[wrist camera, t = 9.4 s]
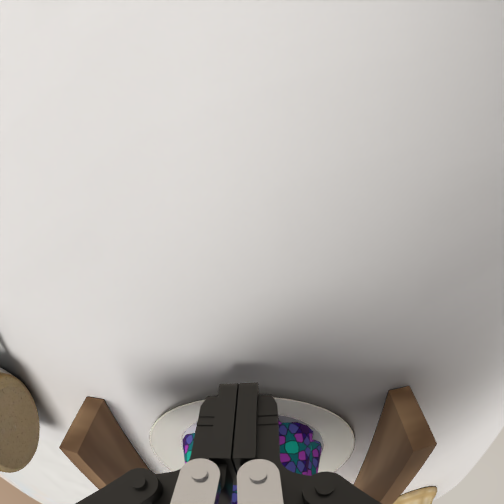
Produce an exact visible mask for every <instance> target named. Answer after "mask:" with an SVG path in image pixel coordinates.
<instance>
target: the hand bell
mask: <svg viewBox="0 0 504 504" xmlns="http://www.w3.org/2000/svg"><path fill="white" fill-rule="evenodd" d="M436 493H437V488H436V487H425V488H421V489H418V490H414V491H411V492H408V493H405V494H403V495H400V496H399V497H398V499H397V500H396V501H395V502H394V503H393V504H432V501H433V498H434V497H435V495H436Z"/></svg>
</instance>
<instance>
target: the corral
mask: <svg viewBox="0 0 504 504" xmlns="http://www.w3.org/2000/svg"><path fill="white" fill-rule="evenodd" d="M436 445H437V443H436V441H435V438H434V436H433V434H432V432H431V430H430V428H429V425H428V423H427V421H426V419H425V417H424V415H423V413H422V411H421V409H420V407H419V404H418V402H417V400H416V398H415V396H414V394H413V392H412V390H411V388H410V386H407V387H402V388H398V389H394V390H389V391H388V394H387V398H386V401H385V404H384V407H383V411H382V414H381V417H380V420H379V423H378V426H377V428H376V431H375V434H374V437H373V440H372V442H371V445H370V448H369V450H368V453H367V455H366V458H365V460H364V463H363V465H362V467H361V470H360V472H359V474H358V477H357V479H356V481H355V483H354V486H356V487H357V488H359V489H360V490H362V491H363V492H365V493H366V494H368V495H369V496H371V497H372V498H374V499H375V500H377V501H378V502H380V503H382V504H393V503H394V502H395V501H396V500H397V499H398V497H399V496H400V495H401V494H402V492H403V491H404V490H405V489H406V487H407V486H408V485H409V483H410V482H411V481H412V479H413V478H414V477H415V475H416V474H417V473H418V471H419V470H420V469H421V467H422V466H423V464H424V463H425V461H426V460H427V458H428V457H429V455H430V454H431V452H432V451H433V449H434V448H435V446H436ZM59 448H60V449H61V450H62V452H63V453H64V454H65V455H66V456H67V457H68V458H69V459H70V460H71V462H72V463H73V464H74V465H75V466H76V467H77V468H78V469H79V470H80V471H81V472H82V473H83V474H84V475H85V476H86V477H87V478H88V479H89V480H90V481H91V482H92V483H93V484H94V485H95V486H96V487H97V488H98V489H99V490H100V489H101V488H103V487H105V486H106V485H108V484H109V483H111V482H113V481H114V480H116V479H117V478H119V477H120V476H122V475H124V474H125V473H127V472H128V471H130V470H132V469H135V468H145V469H148V467H147V466H146V465H145V463H144V462H143V460H142V459H141V458H140V456H139V455H138V453H137V452H136V451H135V449H134V448H133V446H132V445H131V443H130V442H129V440H128V439H127V437H126V436H125V434H124V433H123V431H122V429H121V428H120V426H119V425H118V423H117V421H116V420H115V418H114V416H113V415H112V413H111V411H110V410H109V408H108V406H107V405H106V403H105V401H104V399H98V398H92V397H86V399H85V401H84V402H83V404H82V406H81V408H80V410H79V411H78V413H77V415H76V417H75V419H74V421H73V423H72V424H71V426H70V428H69V430H68V432H67V434H66V436H65V438H64V439H63V441H62V443H61V445H60V447H59ZM148 470H149V469H148Z"/></svg>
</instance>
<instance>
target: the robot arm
mask: <svg viewBox="0 0 504 504" xmlns="http://www.w3.org/2000/svg"><path fill="white" fill-rule="evenodd" d="M233 485H237V504H382V503H380V502H378V501H377V500H375V499H374V498H372V497H371V496H369V495H368V494H366V493H365V492H363V491H362V490H360V489H359V488H357V487H356V486H354V485H353V484H351V483H350V482H348V481H347V480H346V479H344V478H343V477H341V476H340V475H338V474H336V473H333V472H327V471H326V472H319V473H316V474H314V475H312V476H309V475H303V474H298V473H294V472H292V471H290V470H288V469H286V468H285V467H284V466H283V464H282V463H281V461H280V442H279V421H278V408H277V403H276V401H275V399H274V398H273V396H272V395H271V394H270V395H260V394H259V386H258V382H257V383H240V384H238V383H235V384H220V386H219V391H218V396H208V397H207V398H206V399H205V401H204V402H203V403H202V405H201V407H200V412H199V418H198V421H197V427H196V431H195V436H194V441H193V446H192V451H191V456H190V459H189V461H188V462H187V463H186V464H184V465H183V467H182V468H181V469H179V470H177V471H173V472H168V473H162V474H154V473H153V472H152V471H150V470H148V469H145V468H135V469H132V470H130V471H128V472H127V473H125V474H124V475H122V476H120V477H119V478H117V479H116V480H114V481H113V482H111V483H109V484H108V485H106V486H105V487H103V488H101V489H100V490H98V491H96V492H95V493H93V494H91V495H90V496H88V497H86V498H85V499H83V500H81V501H79V502H78V503H76V504H232V491H233Z"/></svg>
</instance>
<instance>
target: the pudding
mask: <svg viewBox="0 0 504 504" xmlns="http://www.w3.org/2000/svg"><path fill="white" fill-rule="evenodd" d="M273 398H274V399H275V401H276V403H277V408H278V415H282V416H287V417H291V418H294V419H297V420H300V421H302V422H304V423H306V424H308V425H310V426H311V427H313V428H314V429H316V430H317V431H318V433H319V434H320V435H321V437H322V439H323V450H322V453H321V449H322V447H321V444H320V442H318V441H315V440H312V436H313V431H312V430H311V429H310V428H309V427H308V426H307V425H304V424H301V423H298V422H291V423H281V422H280V421H279V442H280V461H281V463H282V464H283V466H284V467H285V468H286V469H288V470H290V471H292V472H294V473H298V474H303V475H309V476H312V475H314V474H316V473H319V472H326V471H327V472H333V473H334V472H335V471H337V470H338V469H339V468H340V467H341V466H342V465H344V463H345V462H346V461H347V460H348V459H349V457H350V455H351V453H352V451H353V449H354V444H355V438H354V434H353V431H352V429H351V428H350V426H349V425H348V423H347V422H345V421H344V420H343V419H342V418H341V417H339V416H338V415H336V414H334V413H332V412H330V411H328V410H326V409H325V408H322V407H318V406H315V405H312V404H309V403H306V402H301V401H295V400H291V399H285V398H275V397H273ZM204 401H205V400H200V401H195V402H192V403H188V404H185V405H182V406H179V407H177V408H175V409H173V410H170V411H168V412H166V413H165V414H164V415H163V416H161V417H160V418H159V419H158V420H156V422H155V424H154V425H153V427H152V428H151V432H150V437H149V438H150V444H151V447H152V449H153V451H154V453H155V455H156V456H157V457H158V459H159V460H160V461H161V462H162V463H163V464H164V465H165V466H166V467H167V468H169V469H170V470H171V471H177V470H179V469H181V468H182V467H183V465H184V464H186V463H187V462H188V461H189V459H190V456H191V451H192V446H193V441H194V436H195V433H192V434H187V435H186V436H185V437H184V439H183V449H184V451H183V449H182V446H181V439H182V436H183V434H184V432H185V431H186V430H187V429H188V428H189V427H190V426H192V425H193V424H195V423H196V422H197V421H198V418H199V412H200V407H201V405H202V403H203V402H204ZM232 504H237V485H233V491H232Z"/></svg>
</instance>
